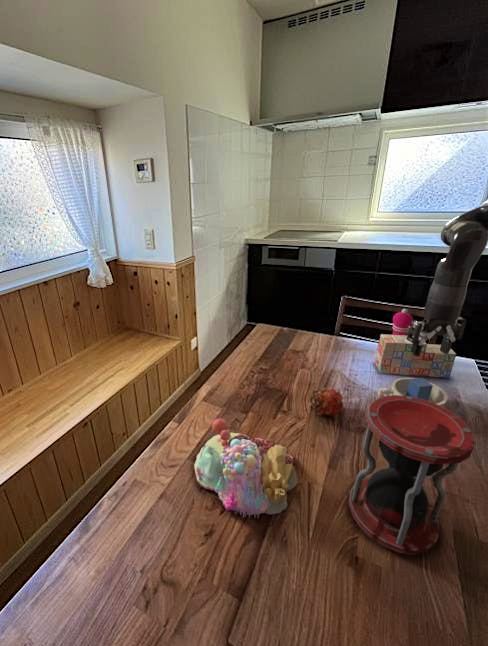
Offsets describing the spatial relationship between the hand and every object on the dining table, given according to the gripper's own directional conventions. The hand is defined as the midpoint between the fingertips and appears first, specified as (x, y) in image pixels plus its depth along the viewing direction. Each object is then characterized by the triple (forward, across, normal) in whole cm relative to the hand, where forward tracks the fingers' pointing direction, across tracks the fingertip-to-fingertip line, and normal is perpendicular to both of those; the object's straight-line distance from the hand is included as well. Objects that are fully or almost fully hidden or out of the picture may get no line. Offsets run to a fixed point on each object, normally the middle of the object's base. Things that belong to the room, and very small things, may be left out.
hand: (429, 353), depth 93 cm
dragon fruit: (+18, -27, +2) cm, 33 cm away
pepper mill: (+18, +12, +26) cm, 34 cm away
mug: (+18, -2, +1) cm, 18 cm away
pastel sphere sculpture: (+18, -57, -15) cm, 62 cm away
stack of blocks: (+18, +12, +17) cm, 28 cm away
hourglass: (+18, -29, -31) cm, 46 cm away
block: (+18, 0, 0) cm, 18 cm away
